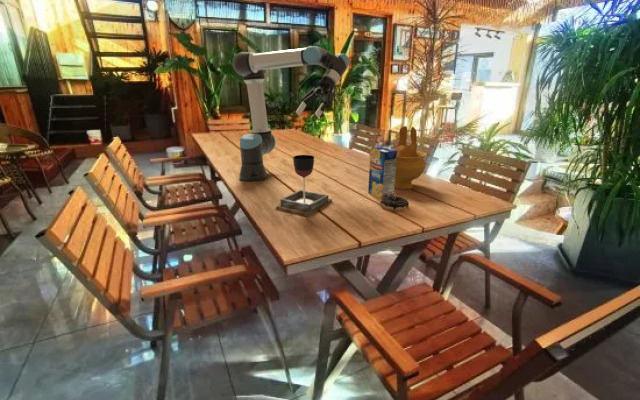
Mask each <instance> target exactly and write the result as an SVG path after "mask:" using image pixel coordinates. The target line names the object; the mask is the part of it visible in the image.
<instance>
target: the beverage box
mask: <svg viewBox="0 0 640 400" xmlns="http://www.w3.org/2000/svg"><path fill="white" fill-rule="evenodd" d="M396 163H397V150H393V148H388V147H386V146H375V147H370V150H369V173H368V191H367V193H368V194H369V195H371V196H373V197H375V198H377V199H379V200H382V199H383V198H384V197H388V196H395V176H396Z"/></svg>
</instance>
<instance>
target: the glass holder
mask: <svg viewBox="0 0 640 400" xmlns="http://www.w3.org/2000/svg"><path fill="white" fill-rule="evenodd" d="M301 199H303V189H299V190H297V191H295V192H293V193H291V194H288V195H286V196H284V197H282V198H281V199H280V204H278V205H276V206H275V209H276V210H278V211H283V212H287V213H292V214H295V215H300V216H303V217H307V218H309V217H310V216H311V215H313V214H315V213H317V212H318V211H319V210H321V209H322V208H324V207H326V206H328V205H329V204H331V203H332V202H333V199H332V198H329V195H328V194H324V193H319V192H313V191H309V190H305V199H308V200H312V201H313V203H311V204H310V205H309V204H304V203H300V202H296V201H297V200H301Z"/></svg>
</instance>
